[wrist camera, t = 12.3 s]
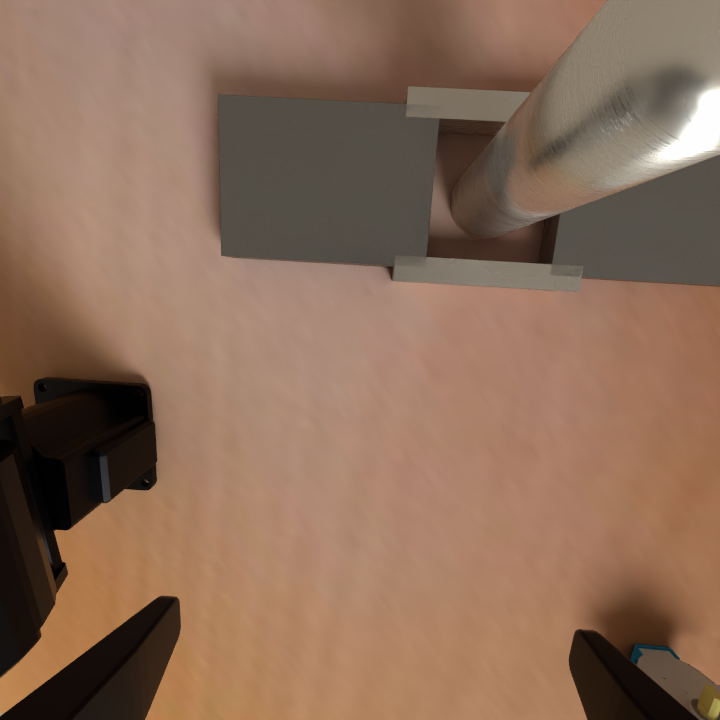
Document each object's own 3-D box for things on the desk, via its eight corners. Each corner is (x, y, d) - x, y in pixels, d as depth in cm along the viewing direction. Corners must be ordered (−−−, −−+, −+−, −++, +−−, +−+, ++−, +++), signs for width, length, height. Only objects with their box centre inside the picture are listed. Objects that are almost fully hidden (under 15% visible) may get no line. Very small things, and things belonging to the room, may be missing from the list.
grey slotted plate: (232, 271, 19) (221, 270, 18) (230, 93, 18) (217, 76, 16) (728, 301, 19) (757, 302, 17) (776, 121, 17) (813, 106, 16)
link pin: (438, 220, 19) (578, 87, 6) (471, 150, 18) (714, -175, 5) (500, 251, 19) (766, 184, 6) (536, 182, 18) (922, -55, 5)
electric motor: (712, 630, 23) (803, 723, 18) (691, 689, 24) (773, 792, 19) (603, 619, 23) (664, 709, 18) (587, 679, 24) (641, 779, 19)
